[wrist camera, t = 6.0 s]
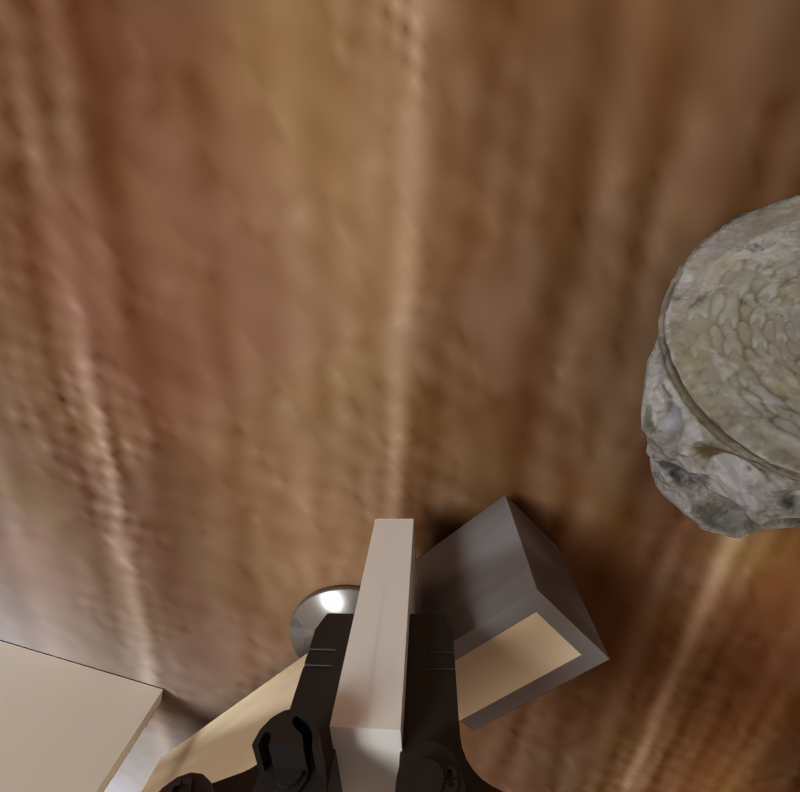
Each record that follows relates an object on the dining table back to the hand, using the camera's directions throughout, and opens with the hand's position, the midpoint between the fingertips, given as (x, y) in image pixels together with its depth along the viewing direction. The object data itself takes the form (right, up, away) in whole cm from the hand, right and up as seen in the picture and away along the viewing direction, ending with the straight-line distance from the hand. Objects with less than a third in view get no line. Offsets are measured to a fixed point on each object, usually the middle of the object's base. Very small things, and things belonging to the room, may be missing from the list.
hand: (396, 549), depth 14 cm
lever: (-4, -7, +4) cm, 9 cm away
